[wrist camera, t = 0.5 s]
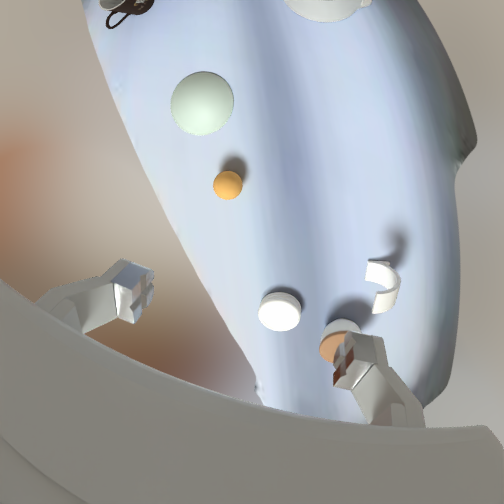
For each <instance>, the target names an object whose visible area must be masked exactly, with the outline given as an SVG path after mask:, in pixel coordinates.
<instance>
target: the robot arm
mask: <svg viewBox="0 0 504 504" xmlns="http://www.w3.org/2000/svg"><path fill="white" fill-rule="evenodd" d="M283 1H284V2H285V3H286V4H287V6H288V7H289V8H290V9H291V10H292V11H294V12H295V13H296V14H298V15H300V16H302V17H304V18H306V19H309V20H313V21H317V22H336V21H340V20H343V19H346V18H348V17H349V16H351V15H352V14H353V13H354V12H355V11H356V10H358V9H360V8H363V7H367V6H369V5H371V3H372V0H283ZM153 279H154V271H153V270H152V269H149V268H147V267H144V266H141V265H139V264H136V263H134V262H131V261H129V260H126V259H120V260H118V261H117V262H116V263H115V264H114V265H113V266H112V267H111V268H109V269H108V270H107V271H106V272H105V273H104V274H103V275H102V276H101V277H98V276H96V277H92V278H89V279H84V280H81V281H77V282H73V283H70V284H66V285H62V286H58V287H55V288H51V289H50V290H49V291H48V292H47V293H45V294H44V295H43V296H42V297H41V298H40V299H39V300H38V301H37V302H36V303H32V302H31V301H29V300H28V299H27V298H25V297H24V296H22V295H21V294H20V293H18V292H17V291H15V290H14V289H13V288H12V287H10V286H9V285H8V284H6V283H5V282H4V281H2V280H1V279H0V504H504V449H503V446H502V445H501V443H500V441H499V440H498V439H497V437H496V436H495V435H494V434H493V433H492V431H491V430H490V429H489V428H488V427H487V426H484V425H477V426H466V427H445V428H426V427H425V421H424V415H423V409H422V405H421V403H420V402H419V401H418V400H417V398H416V397H415V396H414V395H413V393H412V392H411V391H410V390H409V388H408V387H407V386H406V385H405V383H404V382H403V381H402V380H401V378H400V377H399V376H398V375H397V373H396V372H395V371H394V370H393V369H392V367H389V366H388V361H387V356H386V351H385V346H384V341H383V338H382V337H378V336H373V335H367V334H363V333H359V332H355V331H351V330H349V331H348V332H347V333H346V334H345V336H344V342H343V343H341V344H339V346H338V347H337V349H336V352H335V354H334V359H333V366H334V367H335V369H336V371H335V372H334V373H333V387H337V388H342V389H346V390H351V392H352V394H353V396H354V398H355V399H356V401H357V403H358V405H359V407H360V409H361V411H362V413H363V415H364V416H365V418H366V420H367V422H368V424H369V425H368V424H359V423H351V422H343V421H336V420H330V419H324V418H318V417H312V416H307V415H302V414H297V413H292V412H288V411H283V410H279V409H275V408H271V407H267V406H263V405H259V404H255V403H251V402H247V401H244V400H241V399H237V398H234V397H231V396H227V395H224V394H221V393H218V392H215V391H212V390H209V389H206V388H203V387H200V386H197V385H194V384H192V383H189V382H186V381H184V380H181V379H178V378H176V377H173V376H171V375H168V374H166V373H163V372H161V371H158V370H156V369H154V368H151V367H149V366H147V365H144V364H142V363H140V362H138V361H136V360H133V359H131V358H129V357H127V356H125V355H123V354H121V353H119V352H117V351H114V350H113V349H111V348H109V347H107V346H105V345H103V344H101V343H99V342H97V341H95V340H93V339H92V338H90V337H88V336H86V335H84V333H86V332H88V331H90V330H93V329H95V328H97V327H99V326H101V325H103V324H105V323H107V322H109V321H111V320H114V319H116V318H117V317H118V318H121V319H123V320H125V321H128V322H130V323H133V324H135V322H136V321H137V320H138V318H139V317H140V316H141V314H142V309H144V308H146V307H148V305H149V304H150V302H151V300H152V297H153V293H154V286H153V285H152V283H151V281H152V280H153Z"/></svg>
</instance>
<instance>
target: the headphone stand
mask: <svg viewBox="0 0 504 504" xmlns="http://www.w3.org/2000/svg"><path fill="white" fill-rule="evenodd" d="M365 280H366V281H373V282H376V283H379V284H381V285H383V286H384V287H386V288H387V289H388V290H386V291H379V292H376V296H375V300H374V304H373V308H372V314H377V313H383V312H386V311H388V310H390V309H391V308H392V307H393V306H394V304H395V302H396V298H397V295H398V291H399V287H400V283H401V279H400V276H399V274H398V273H397V272H396V271H395V270H394V269H393V268H391V267H390V262H389V261H368V262H367V268H366V274H365Z"/></svg>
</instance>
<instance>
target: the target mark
mask: <svg viewBox="0 0 504 504" xmlns="http://www.w3.org/2000/svg"><path fill="white" fill-rule="evenodd" d="M233 101H234V100H233V94H232V91H231V89H230V87H229V85H228V84H227V83H226V81H225V80H223V79H222V78H221V77H219V76H218V75H215V74H212V73H208V72H199V73H194V74H192V75H190V76H188V77H186V78H185V79H183V80H182V81H181V82H180V83H179V84H178V85H177V87H176V88H175V90H174V92H173V95H172V98H171V113H172V116H173V119H174V121H175V122H176V124H177V125H178V126H179V127H180V128H181V129H182V130H184V131H185V132H187V133H190V134H193V135H208V134H211V133H213V132H216V131H217V130H219V129H220V128H221V127H223V126H224V125H225V123H226V122H227V121H228V119H229V118H230V116H231V113H232V110H233Z"/></svg>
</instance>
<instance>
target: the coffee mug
mask: <svg viewBox="0 0 504 504" xmlns="http://www.w3.org/2000/svg"><path fill="white" fill-rule="evenodd" d="M153 3H154V0H99V6H100V8H101V9H103V10H107V11H112V12H111V13H110V15H109V16H108V17H107V20H106V27H107V28H108V29H113V28H115V27H117V26H118V25H119V24H120V23H121V22H122V21H123V20H124V19H125V18H126V17H127V16H129V15H131V14H134V15H141V14H143V13H145V12H147V11H148V10H149V9H150V8H151V7H152V5H153ZM118 12H122V13H127V14H126V15H125V16H124V17H123V18H122V19H121V20H120V21H119V22H118V23H117V24H116V25H114V26H112V27H110V26H109V19H110V18H111V16H112V15H113V14H116V13H118Z"/></svg>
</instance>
